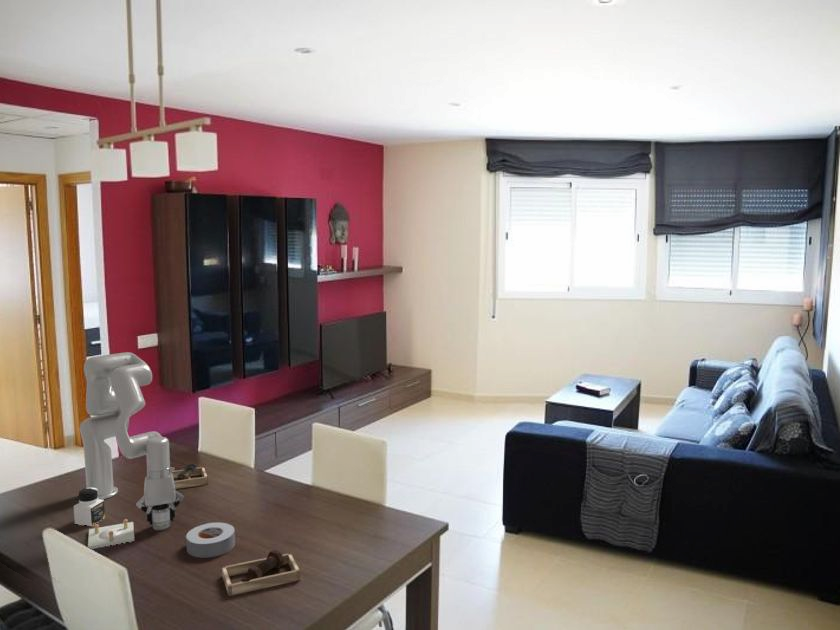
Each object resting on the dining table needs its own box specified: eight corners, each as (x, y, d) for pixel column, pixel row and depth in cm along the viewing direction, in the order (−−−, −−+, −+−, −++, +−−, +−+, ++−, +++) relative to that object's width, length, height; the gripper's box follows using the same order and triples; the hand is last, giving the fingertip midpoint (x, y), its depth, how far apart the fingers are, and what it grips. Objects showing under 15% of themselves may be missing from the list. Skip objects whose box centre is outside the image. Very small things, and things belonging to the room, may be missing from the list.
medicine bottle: (92, 526, 232) (90, 494, 230) (74, 524, 233) (72, 492, 232) (105, 518, 239) (103, 486, 237) (88, 516, 240) (86, 484, 239)
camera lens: (159, 532, 228) (158, 510, 227) (148, 527, 231) (147, 506, 230) (174, 525, 233) (173, 504, 232) (163, 521, 236) (162, 500, 235)
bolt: (242, 593, 192) (275, 568, 206) (253, 589, 190) (286, 564, 203) (234, 575, 193) (267, 551, 206) (245, 570, 191) (278, 546, 204)
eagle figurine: (196, 481, 270) (200, 470, 279) (185, 469, 268) (190, 458, 276) (181, 491, 271) (186, 479, 279) (170, 478, 268) (175, 467, 277)
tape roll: (190, 562, 208) (189, 547, 207) (183, 542, 221) (182, 527, 221) (239, 551, 215) (239, 537, 214) (229, 532, 228) (229, 518, 228)
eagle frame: (164, 479, 276) (163, 472, 275) (204, 473, 282) (203, 466, 282) (166, 490, 264) (166, 483, 263) (208, 484, 271) (207, 477, 270)
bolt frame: (222, 576, 200) (221, 566, 199) (290, 561, 208) (290, 552, 208) (228, 596, 189) (228, 586, 188) (300, 580, 198) (300, 570, 197)
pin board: (89, 531, 228) (88, 520, 227) (133, 524, 234) (132, 513, 233) (88, 549, 215) (87, 537, 215) (134, 541, 221) (133, 529, 221)
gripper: (183, 465, 236) (186, 512, 239) (131, 472, 229) (134, 521, 232) (186, 472, 230) (188, 521, 232) (132, 480, 222) (134, 530, 225)
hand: (161, 520), depth 232 cm, fingers closed on camera lens, 6 cm apart
